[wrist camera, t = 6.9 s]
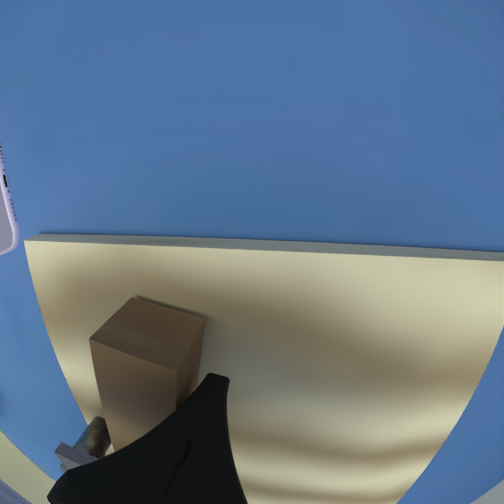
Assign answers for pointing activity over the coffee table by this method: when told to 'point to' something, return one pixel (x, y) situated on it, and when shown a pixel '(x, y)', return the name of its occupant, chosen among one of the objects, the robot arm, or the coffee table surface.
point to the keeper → (86, 446)
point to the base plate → (296, 346)
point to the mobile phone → (7, 215)
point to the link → (145, 366)
